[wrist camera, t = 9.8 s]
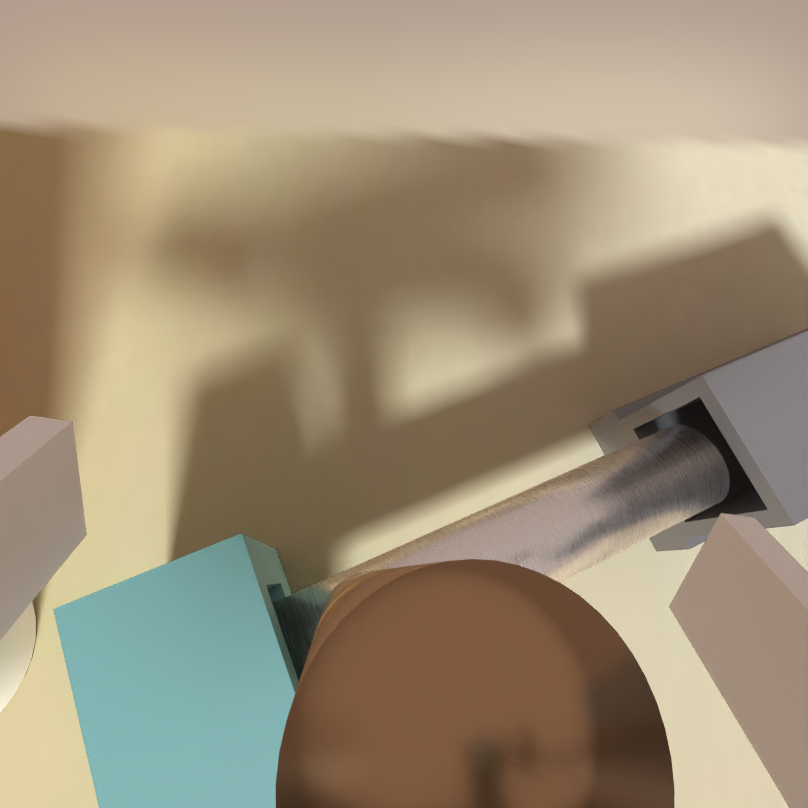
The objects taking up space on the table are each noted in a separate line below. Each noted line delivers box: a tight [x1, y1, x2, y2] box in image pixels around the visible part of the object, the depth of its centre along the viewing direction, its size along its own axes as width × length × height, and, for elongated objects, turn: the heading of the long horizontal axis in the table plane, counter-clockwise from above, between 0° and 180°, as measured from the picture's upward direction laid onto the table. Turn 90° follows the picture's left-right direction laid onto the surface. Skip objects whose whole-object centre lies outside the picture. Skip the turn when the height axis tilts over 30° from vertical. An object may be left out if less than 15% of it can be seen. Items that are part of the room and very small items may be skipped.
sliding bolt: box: [272, 425, 730, 808], centre depth 12 cm, size 3×18×15 cm, turn 113°
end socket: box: [53, 533, 299, 808], centre depth 16 cm, size 7×4×8 cm, turn 23°
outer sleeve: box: [589, 329, 808, 551], centre depth 22 cm, size 6×14×8 cm, turn 113°
